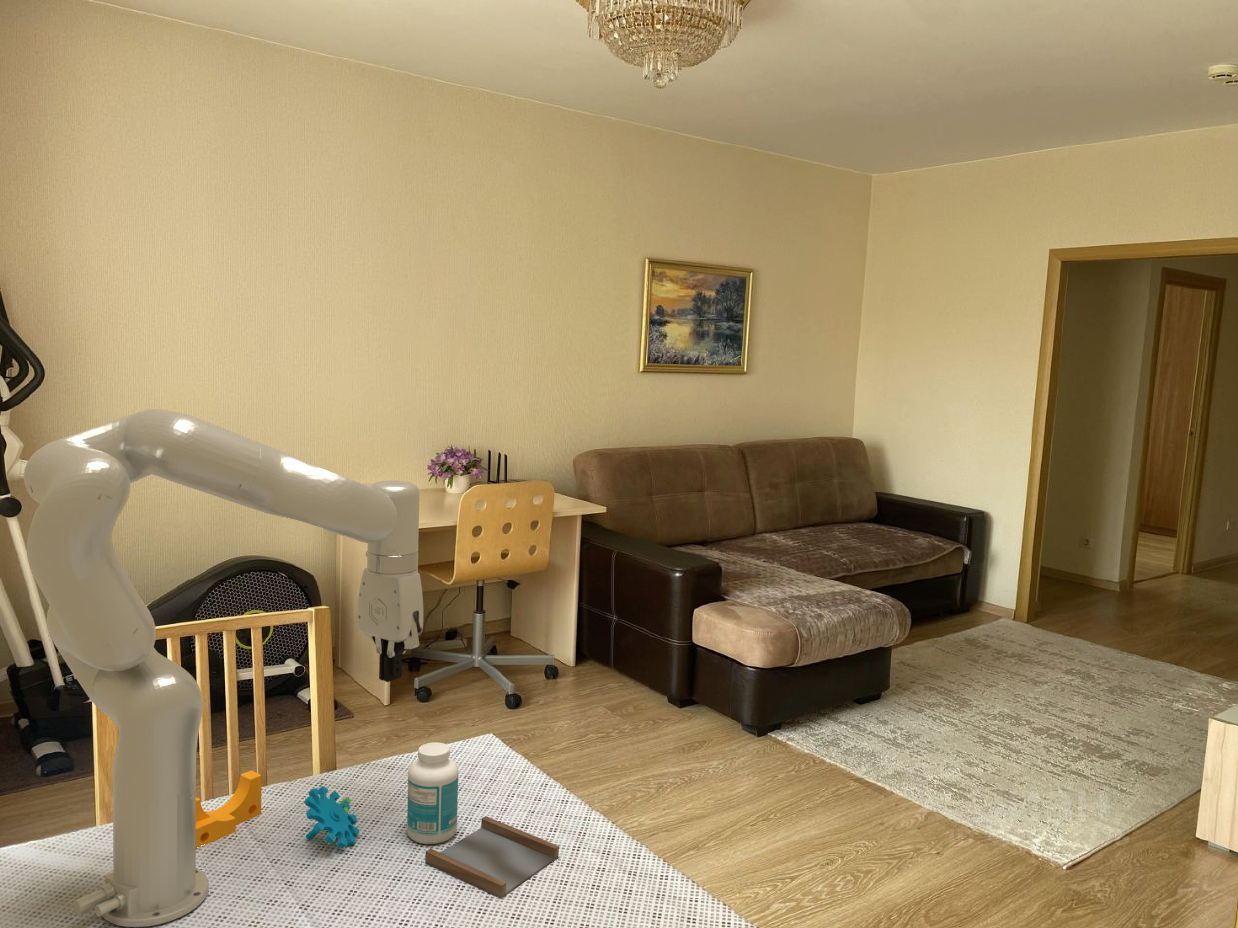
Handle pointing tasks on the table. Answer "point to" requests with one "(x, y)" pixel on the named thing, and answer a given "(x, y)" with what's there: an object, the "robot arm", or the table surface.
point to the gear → (331, 817)
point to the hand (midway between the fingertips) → (390, 678)
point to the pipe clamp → (230, 810)
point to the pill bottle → (432, 795)
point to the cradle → (494, 857)
